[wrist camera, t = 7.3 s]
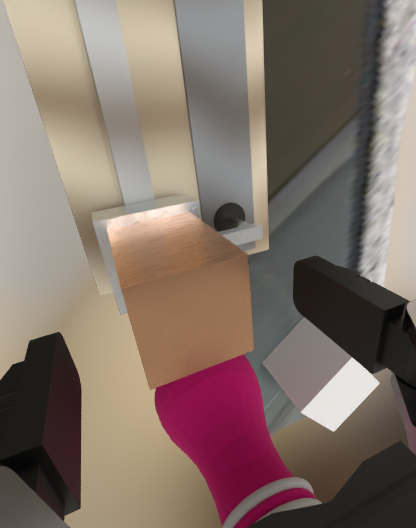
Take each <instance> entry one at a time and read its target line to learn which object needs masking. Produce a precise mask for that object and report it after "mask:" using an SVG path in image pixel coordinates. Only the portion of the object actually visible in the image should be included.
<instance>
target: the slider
mask: <svg viewBox="0 0 416 528" xmlns="http://www.w3.org/2000/svg"><path fill="white" fill-rule="evenodd" d="M92 222H93V226H94V229H95V232H96V236H97V239H98V242H99V246H100V249H101V252H102V255H103V259H104V262H105V265H106V269H107V272H108V275H109V279H110V282H111V285H112V289H113V292H114V295H115V298H116V302H117V305H118V308H119V312H120V314H124V313H127V312H128V315H129V318H130V321H131V325H132V329H133V332H134V336H135V339H136V343H137V346H138V350H139V353H140V357H141V360H142V363H143V367H144V371H145V374H146V378H147V381H148V385H149V388H150V390H151V389H154V388H157V387H159V386H162V385H164V384H167V383H170V382H172V381H175V380H178V379H180V378H183V377H185V376H188V375H191V374H193V373H196V372H198V371H201V370H204V369H206V368H209V367H211V366H214V365H217V364H219V363H222V362H225V361H227V360H230V359H232V358H235V357H238V356H240V355H243V354H245V353H248V352H251V351H253V350H254V343H253V326H252V310H251V294H250V278H249V262H248V254H247V253H246V252H244V251H243V250H242V249H240V248H239V247H237V245H240V244H244V243H248V242H252V241H256V240H259V239H263V234H262V225H261V224H259V223H252V224H249V223H247V222H245V221H243V220H241V219H239V218H235V219H233V220H232V222H231V226H232V229H228V230H224V231H220V232H217V231H215V230H214V229H213V228H211V227H210V226H208V225H207V224H206V223H204V222H203V221H201V218H200V210H199V203H198V200H197V199H195V198H193V197H192V196H190V195H188V194H186V193H185V194H180V195H175V196H170V197H165V198H160V199H155V200H150V201H145V202H140V203H135V204H130V205H125V206H120V207H115V208H110V209H105V210H100V211H96V212H92Z"/></svg>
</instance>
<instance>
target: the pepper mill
mask: <svg viewBox="0 0 416 528" xmlns="http://www.w3.org/2000/svg"><path fill="white" fill-rule="evenodd" d="M155 407H156V411H157V414H158V416H159V419H160V421H161V424H162V426H163V428H164V429H165V431H166V432H167V434H168V435H169V436H170V438H171V440H172V441H173V442H174V443H175V444H176V445H177V446H178V447H179V448H180V449H181V450H182V451H183V452H184V453H186V454H187V455H188V457H189V458H190V459H191V460H192V461H193V462H194V463H195V464H196V466H197V467H198V468H199V470H200V472H201V473H202V475H203V476H204V478H205V480H206V482H207V484H208V487H209V489H210V492H211V494H212V496H213V499H214V501H215V503H216V507H217V510H218V514H219V518H220V521H221V525H222V528H247V527H249V526H250V525H252V524H254V523H256V522H257V521H259V520H261V519H263V518H264V517H266V516H268V515H270V514H272V513H276V512H281V511H286V510H292V509H297V508H302V507H307V506H313V505H318V504H322V503H321V502H320V501H318V500H317V499H316V497H315V496H314V495H313V490H312V487H311V486H310V484H309V483H308V482H307V481H306V480H304V479H302V478H296V477H294V476H293V475H292V474H291V472H290V471H289V470H288V469H287V467H286V466H285V465H284V463H283V461H282V460H281V458H280V456H279V455H278V452H277V451H276V449H275V447H274V445H273V443H272V440H271V437H270V435H269V432H268V429H267V425H266V421H265V415H264V409H263V402H262V395H261V389H260V386H259V383H258V380H257V376H256V374H255V372H254V370H253V368H252V366H251V365H250V363H249V361H248V359H247V358H246V357H245V355H240V356H238V357H235V358H232V359H230V360H227V361H225V362H222V363H219V364H217V365H214V366H211V367H209V368H206V369H204V370H201V371H198V372H196V373H193V374H191V375H188V376H185V377H183V378H180V379H178V380H175V381H172V382H170V383H167V384H164V385H162V386H159V387H157V388H156V391H155Z"/></svg>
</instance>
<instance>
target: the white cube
mask: <svg viewBox="0 0 416 528" xmlns="http://www.w3.org/2000/svg"><path fill="white" fill-rule="evenodd" d="M262 364H263V365H264V366H265V368H266V369H267V370H268V371H269V373H270V374H271V375H272V376H273V378H274V379H275V380H276V382H277V383H278V384H279V385H280V387H281V388H282V389H283V391H284V392H285V393H286V394H287V396H288V397H289V398H290V400H291V401H292V402H293V403H294V405H295V406H296V407H297V408H298V410H299V411H300V412H301V413H302V414H304V415H306V416H308V417H309V418H311V419H313V420H315V421H316V422H318V423H320V424H321V425H323V426H325V427H326V428H328V429H330V430H332V431H333V432H334V431H335V430H336V429H337V428H338V427H339V426H340V425H341V424H342V422H343V421H344V420H345V419H346V418H347V417H348V416H349V415H350V414H351V413H352V412H353V411H354V410H355V409H356V408H357V407H358V406H359V404H360V403H361V402H362V401H363V400H364V399H365V398H366V397H367V396H368V395H369V394H370V393H371V392H372V391H373V390H374V388H376V387H377V385H378V384H379V382H378V381H377V380H376V379H375V378H374V377H373V376H372V375H371V374H370V373H369V372H368V371H367V370H366V369H365V368H364V367H363V366H362V365H361V364H359V363H358V362H357V361H356V360H355V359H353V358H352V357H351V356H350V355H349V354H348V353H346V352H345V351H344V350H343V349H342V348H340V347H339V346H338V345H337V344H336V343H335V342H333V341H332V340H331V339H330V338H329V337H327V336H326V335H325V334H324V333H323V332H321V331H320V330H319V329H318V328H317V327H316V326H314V325H313V324H312V323H311V322H310V321H308V320H307V319H306V318H305V317H304V318H303V319H302V320H301V321H300V322H299V323H298V324H297V325H296V326H295V327H294V329H293V330H292V331H291V332H290V333H289V334H288V335H287V336H286V337H285V338H284V339H283V341H282V342H281V343H280V344H279V345H278V346H277V347H276V348H275V349H274V350H273V351H272V353H271V354H270V355H269V356H268V357H267V358H266V359H265V360H264V361H263V362H262Z"/></svg>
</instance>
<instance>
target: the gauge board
mask: <svg viewBox="0 0 416 528" xmlns="http://www.w3.org/2000/svg"><path fill="white" fill-rule="evenodd" d="M3 2H4V5H5V8H6V11H7V15H8V18H9V21H10V23H11V27H12V30H13V33H14V36H15V39H16V42H17V45H18V48H19V51H20V54H21V57H22V60H23V63H24V66H25V69H26V72H27V75H28V79H29V82H30V85H31V88H32V91H33V94H34V97H35V100H36V103H37V106H38V109H39V112H40V115H41V118H42V121H43V124H44V127H45V130H46V133H47V136H48V139H49V142H50V145H51V149H52V151H53V155H54V158H55V161H56V164H57V167H58V170H59V173H60V176H61V179H62V182H63V185H64V188H65V191H66V194H67V197H68V200H69V204H70V206H71V210H72V213H73V216H74V218H75V222H76V225H77V228H78V231H79V234H80V237H81V240H82V243H83V246H84V249H85V252H86V255H87V258H88V261H89V264H90V267H91V270H92V274H93V277H94V279H95V282H96V286H97V289H98V292H99V295H100V296H104V295H107V294H111V293H114V292H113V289H112V285H111V282H110V279H109V275H108V272H107V269H106V265H105V262H104V259H103V255H102V252H101V249H100V246H99V242H98V239H97V236H96V232H95V229H94V226H93V222H92V212H96V211H100V210H105V209H110V208H115V207H120V206H125V205H130V204H135V203H140V202H145V201H150V200H155V199H160V198H165V197H170V196H175V195H180V194H185V193H186V194H188V195H190V196H192V197H193V198H195V199H197V200H198V203H199V210H200V218H201V221H203V222H204V223H206V224H207V225H208V226H210V227H211V228H213V229H214V230H215V231H217V232H220V231H224V230H228V229H232V226H231V222H232V220H233V219H235V218H239V219H241V220H243V221H245V222H247V223H249V224H252V223H259V224H261V225H262V234H263V239H259V240H256V241H252V242H248V243H244V244H240V245H237V247H239V248H240V249H242V250H243V251H244V252H246V253H247V254H248V255H250V254H254V253H258V252H261V251H265V250H268V249H269V232H268V196H267V159H266V123H265V87H264V50H263V14H262V0H3Z"/></svg>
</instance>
